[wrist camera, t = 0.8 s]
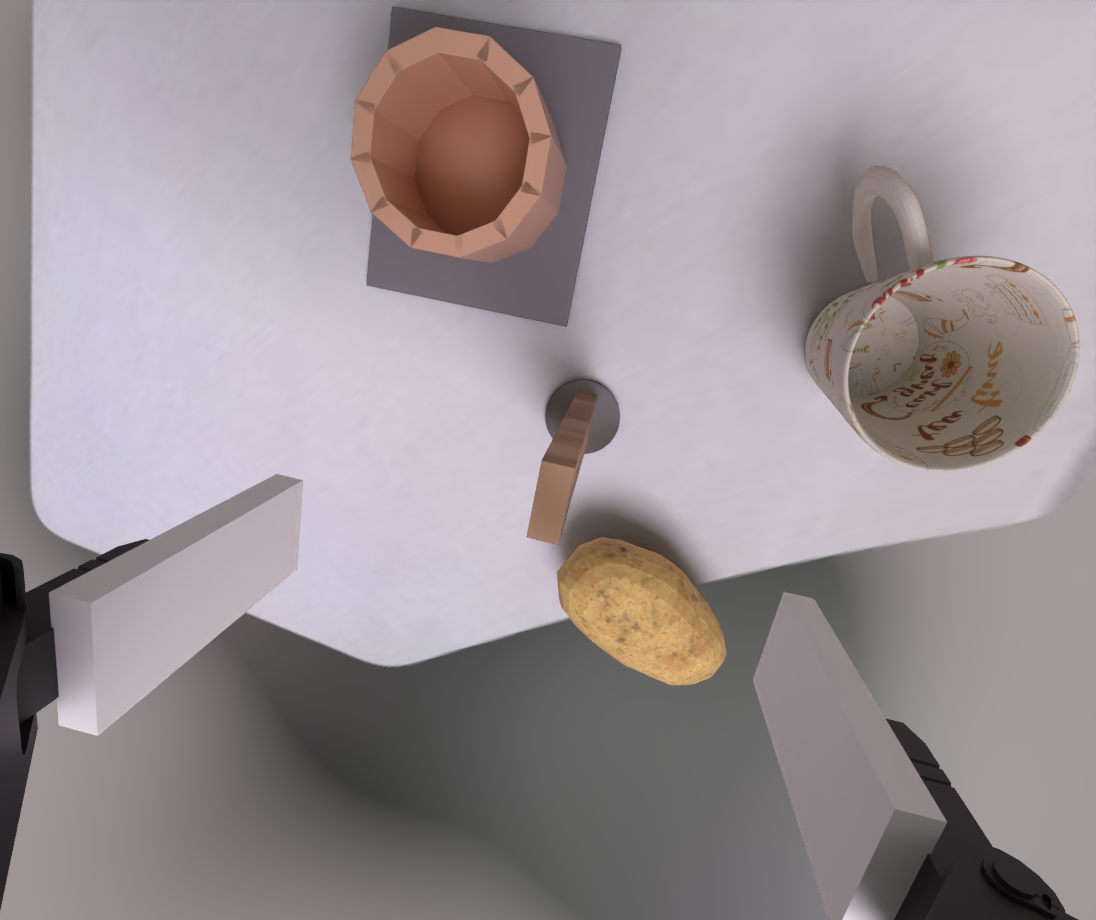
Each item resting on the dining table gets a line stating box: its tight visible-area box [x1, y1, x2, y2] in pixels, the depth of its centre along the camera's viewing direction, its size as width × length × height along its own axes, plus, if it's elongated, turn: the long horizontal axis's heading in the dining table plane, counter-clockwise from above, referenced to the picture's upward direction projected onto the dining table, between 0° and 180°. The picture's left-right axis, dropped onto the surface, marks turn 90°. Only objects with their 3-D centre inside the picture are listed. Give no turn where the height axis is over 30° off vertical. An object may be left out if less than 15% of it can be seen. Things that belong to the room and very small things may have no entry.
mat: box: [367, 7, 621, 327], centre depth 32 cm, size 14×12×1 cm
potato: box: [557, 537, 726, 685], centre depth 35 cm, size 7×11×6 cm, turn 48°
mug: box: [805, 166, 1080, 472], centre depth 27 cm, size 8×13×10 cm, turn 21°
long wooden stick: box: [527, 380, 620, 545], centre depth 28 cm, size 4×4×15 cm
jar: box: [350, 27, 567, 263], centre depth 29 cm, size 9×9×6 cm
